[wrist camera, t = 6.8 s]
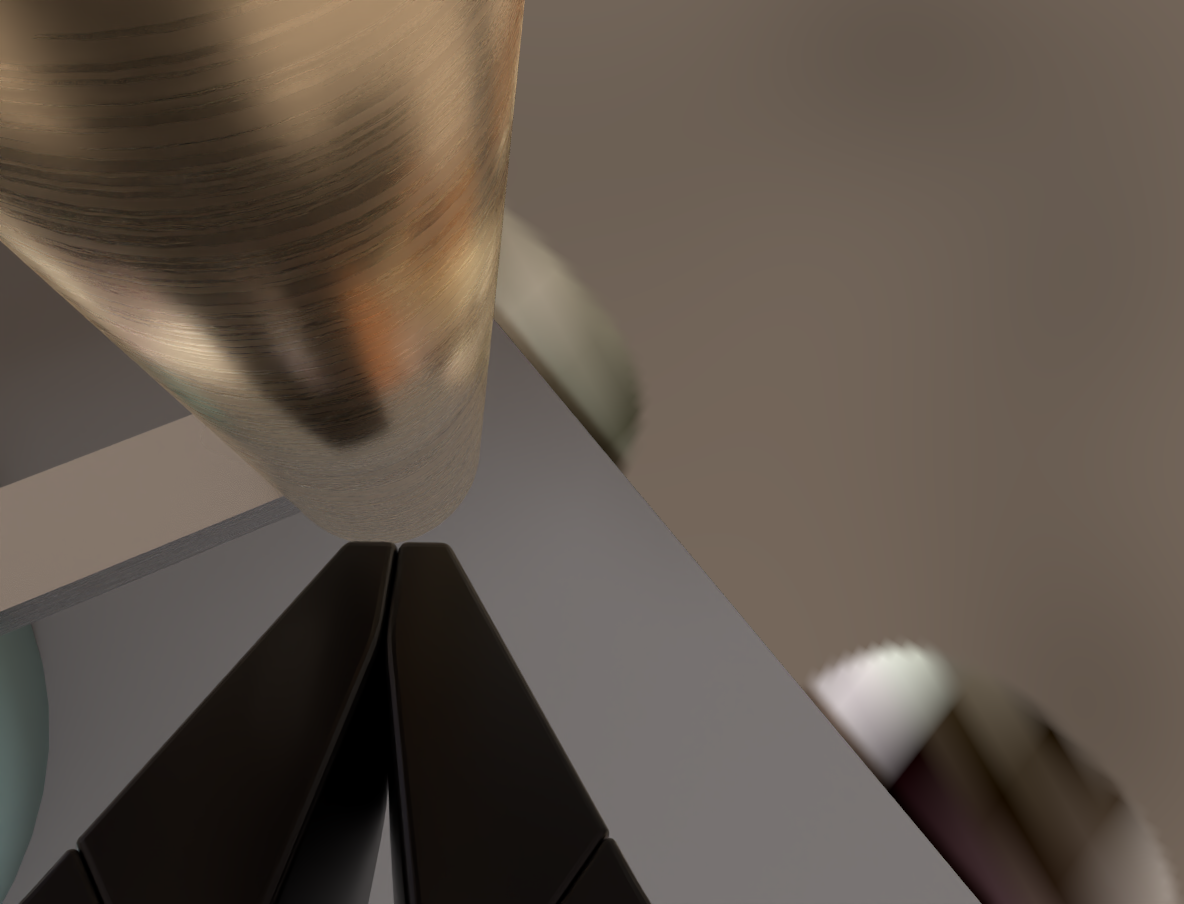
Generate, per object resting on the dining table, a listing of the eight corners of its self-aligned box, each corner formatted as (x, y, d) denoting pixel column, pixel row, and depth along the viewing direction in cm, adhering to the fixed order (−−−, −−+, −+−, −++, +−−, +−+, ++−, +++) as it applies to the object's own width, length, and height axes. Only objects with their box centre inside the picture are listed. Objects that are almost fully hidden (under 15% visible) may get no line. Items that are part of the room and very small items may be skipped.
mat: (-91, 2141, 11) (-121, 2223, 11) (-960, 831, 13) (-1028, 840, 12) (1005, 946, 16) (1026, 958, 15) (268, 62, 17) (262, 41, 16)
